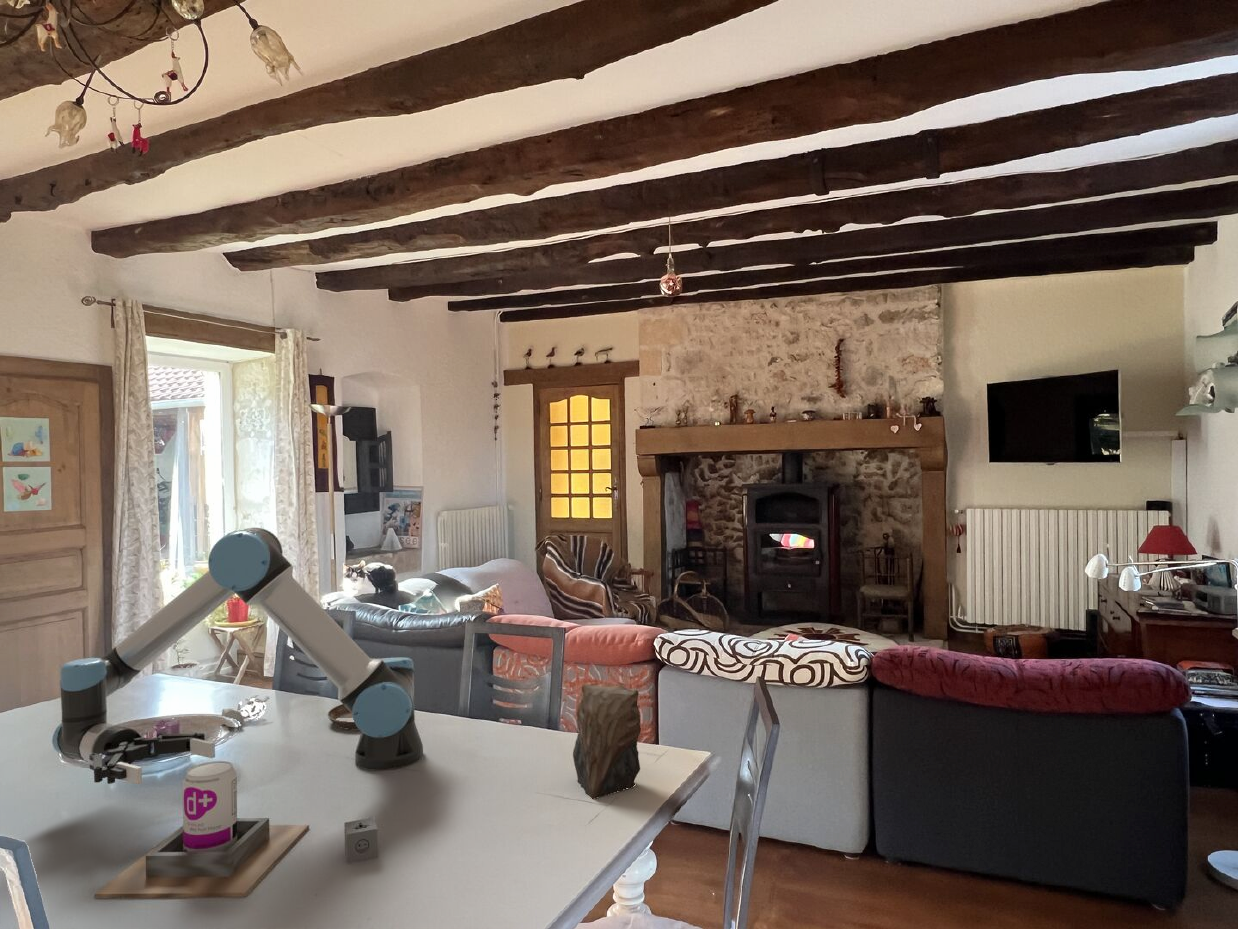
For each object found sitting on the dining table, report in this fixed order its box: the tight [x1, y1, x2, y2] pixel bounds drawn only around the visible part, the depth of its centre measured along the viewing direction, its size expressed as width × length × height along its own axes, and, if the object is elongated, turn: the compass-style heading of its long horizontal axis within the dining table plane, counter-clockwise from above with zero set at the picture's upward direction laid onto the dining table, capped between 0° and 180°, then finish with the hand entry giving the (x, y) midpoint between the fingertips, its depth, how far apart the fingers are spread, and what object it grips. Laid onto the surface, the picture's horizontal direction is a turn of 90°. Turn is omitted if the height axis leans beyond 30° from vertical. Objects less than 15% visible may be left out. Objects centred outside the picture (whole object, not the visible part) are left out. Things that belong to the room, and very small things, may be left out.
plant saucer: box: [327, 703, 358, 730], centre depth 215 cm, size 21×21×3 cm
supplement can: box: [182, 760, 238, 852], centre depth 137 cm, size 8×8×15 cm
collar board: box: [94, 817, 310, 899], centre depth 137 cm, size 24×24×5 cm
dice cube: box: [344, 817, 379, 865], centre depth 138 cm, size 5×5×5 cm
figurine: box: [220, 694, 270, 726], centre depth 215 cm, size 9×6×12 cm
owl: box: [572, 683, 642, 800], centre depth 167 cm, size 13×13×20 cm
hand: (178, 762), depth 144 cm, fingers open, 13 cm apart
